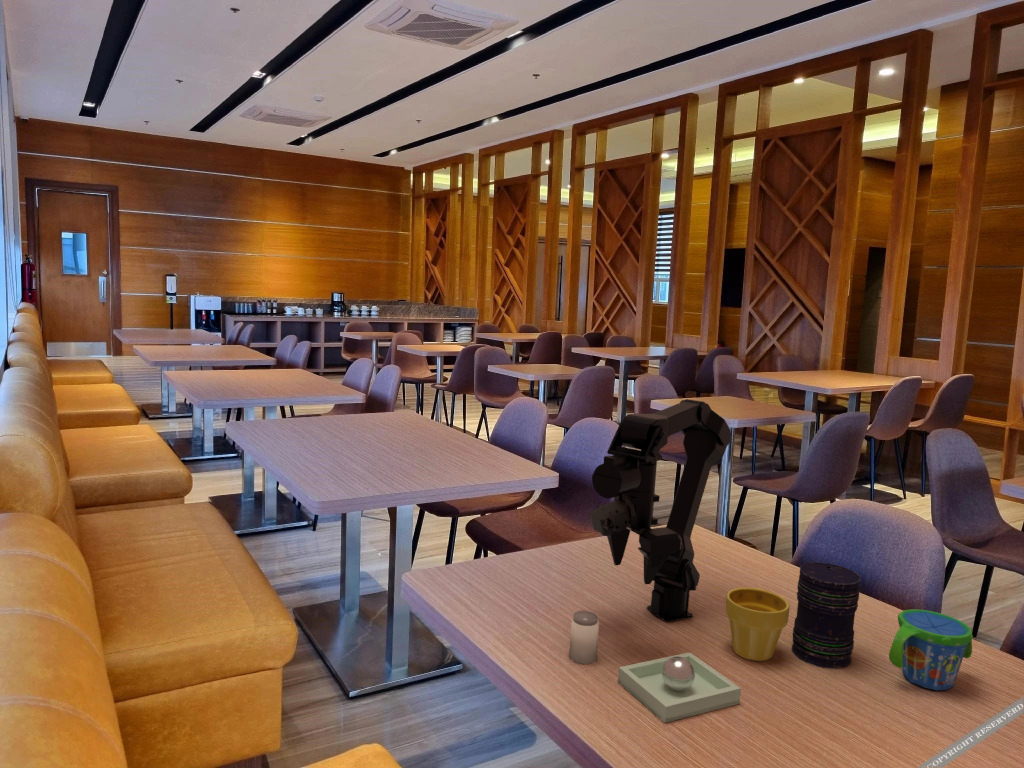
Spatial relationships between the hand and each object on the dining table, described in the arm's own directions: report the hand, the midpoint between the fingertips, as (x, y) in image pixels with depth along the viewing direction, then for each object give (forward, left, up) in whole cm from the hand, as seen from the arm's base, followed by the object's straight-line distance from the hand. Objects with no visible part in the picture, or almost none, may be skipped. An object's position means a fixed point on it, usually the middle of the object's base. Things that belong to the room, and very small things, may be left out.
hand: (631, 574), depth 132 cm
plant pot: (-18, +12, -12) cm, 25 cm away
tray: (+3, +18, -12) cm, 22 cm away
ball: (+3, +18, -11) cm, 22 cm away
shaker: (+11, +3, -12) cm, 17 cm away
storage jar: (-29, +17, -12) cm, 36 cm away
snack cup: (-39, +30, -12) cm, 51 cm away
